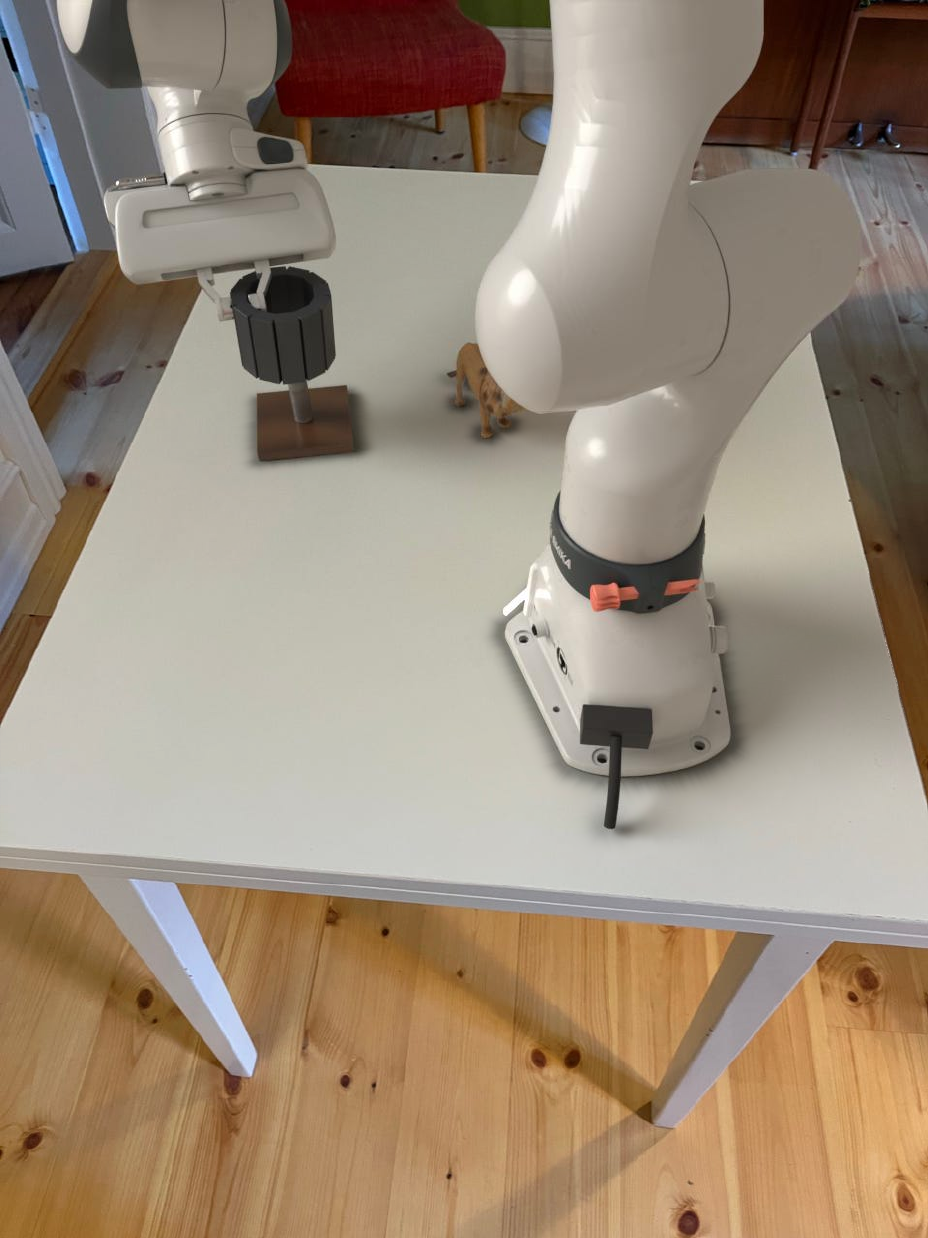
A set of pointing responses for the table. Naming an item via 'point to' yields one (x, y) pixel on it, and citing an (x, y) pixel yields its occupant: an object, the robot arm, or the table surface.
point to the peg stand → (303, 422)
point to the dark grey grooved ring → (285, 326)
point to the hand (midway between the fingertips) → (243, 316)
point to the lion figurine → (482, 389)
